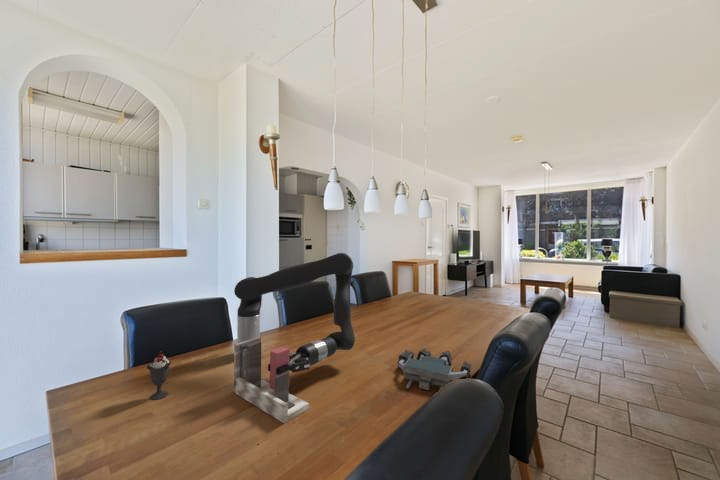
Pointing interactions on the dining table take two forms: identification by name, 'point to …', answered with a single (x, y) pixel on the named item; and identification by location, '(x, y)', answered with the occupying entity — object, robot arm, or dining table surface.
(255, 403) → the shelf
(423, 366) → the toy
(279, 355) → the book
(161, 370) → the sundae
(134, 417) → the dining table surface
